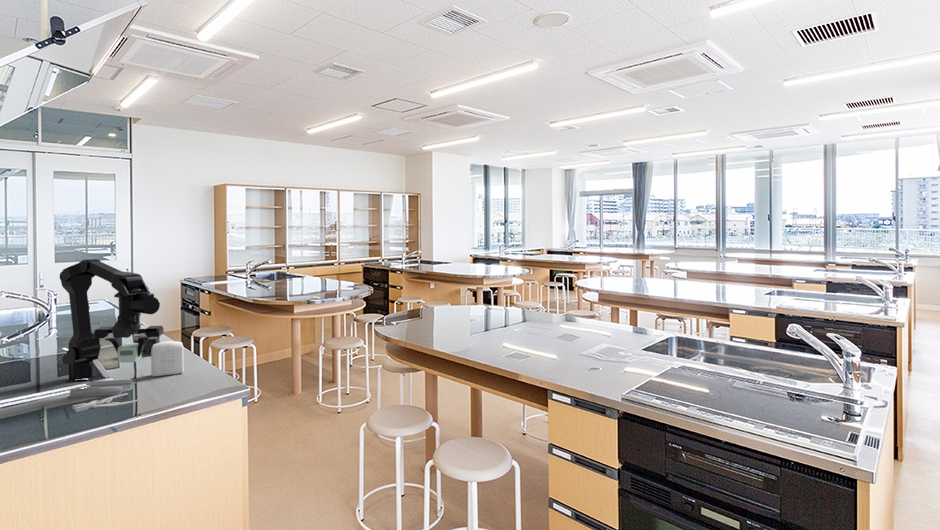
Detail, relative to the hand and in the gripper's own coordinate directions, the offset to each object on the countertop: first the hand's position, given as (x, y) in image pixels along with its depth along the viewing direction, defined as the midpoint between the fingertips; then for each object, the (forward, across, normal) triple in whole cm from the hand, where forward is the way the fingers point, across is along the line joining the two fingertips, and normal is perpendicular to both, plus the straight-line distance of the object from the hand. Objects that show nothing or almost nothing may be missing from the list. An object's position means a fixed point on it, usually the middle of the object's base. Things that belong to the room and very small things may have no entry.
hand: (129, 356), depth 162 cm
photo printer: (+11, +8, +13) cm, 19 cm away
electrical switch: (+11, -8, +45) cm, 47 cm away
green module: (+1, 0, 0) cm, 1 cm away
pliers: (+11, -2, -15) cm, 19 cm away
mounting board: (+11, -7, -1) cm, 13 cm away
